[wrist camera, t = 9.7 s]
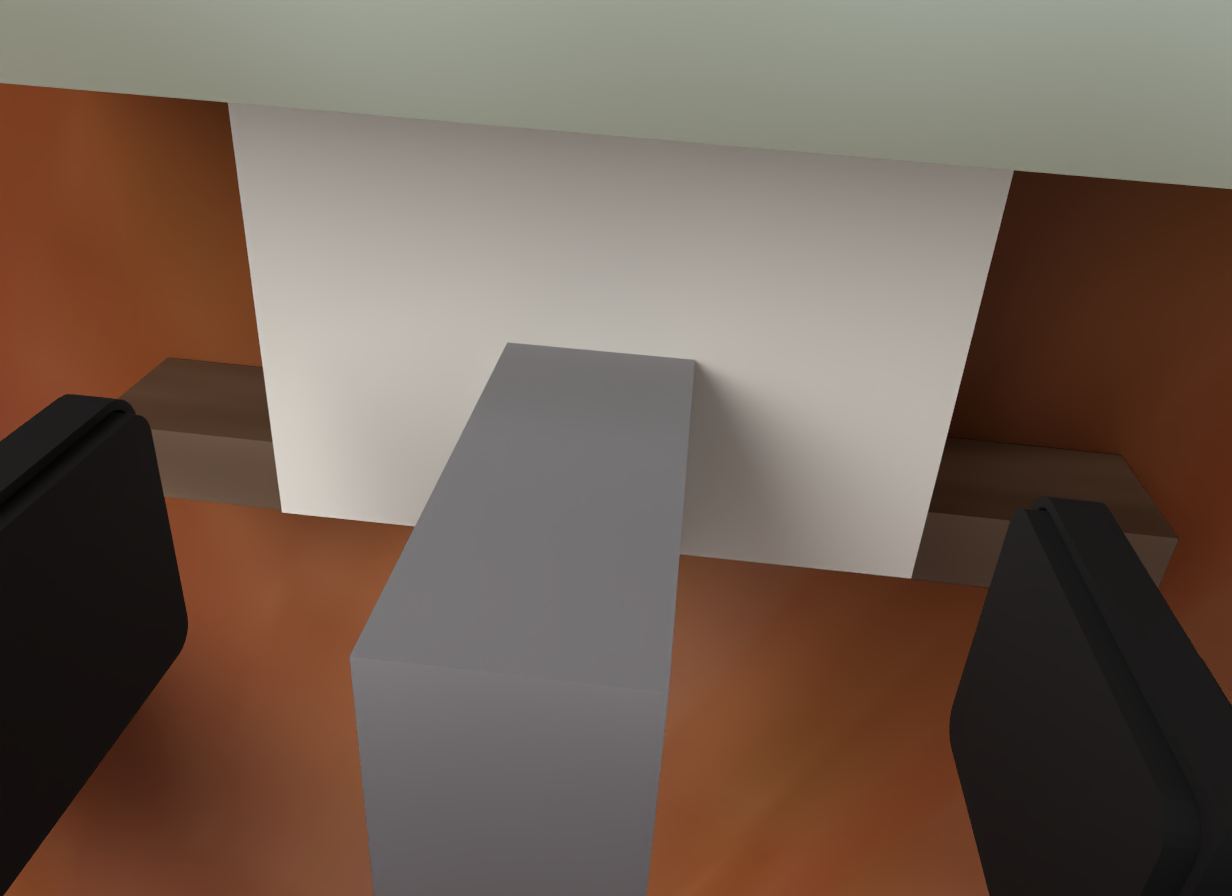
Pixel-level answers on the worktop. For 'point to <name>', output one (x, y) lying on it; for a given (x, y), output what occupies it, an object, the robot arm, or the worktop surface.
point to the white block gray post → (585, 435)
